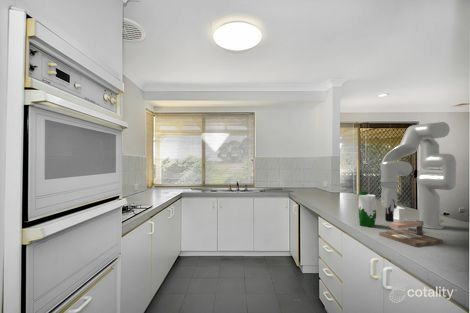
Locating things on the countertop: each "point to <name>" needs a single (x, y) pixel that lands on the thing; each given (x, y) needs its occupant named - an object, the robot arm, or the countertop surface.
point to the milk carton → (367, 209)
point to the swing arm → (406, 224)
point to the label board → (411, 237)
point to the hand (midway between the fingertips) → (389, 221)
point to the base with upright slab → (399, 217)
